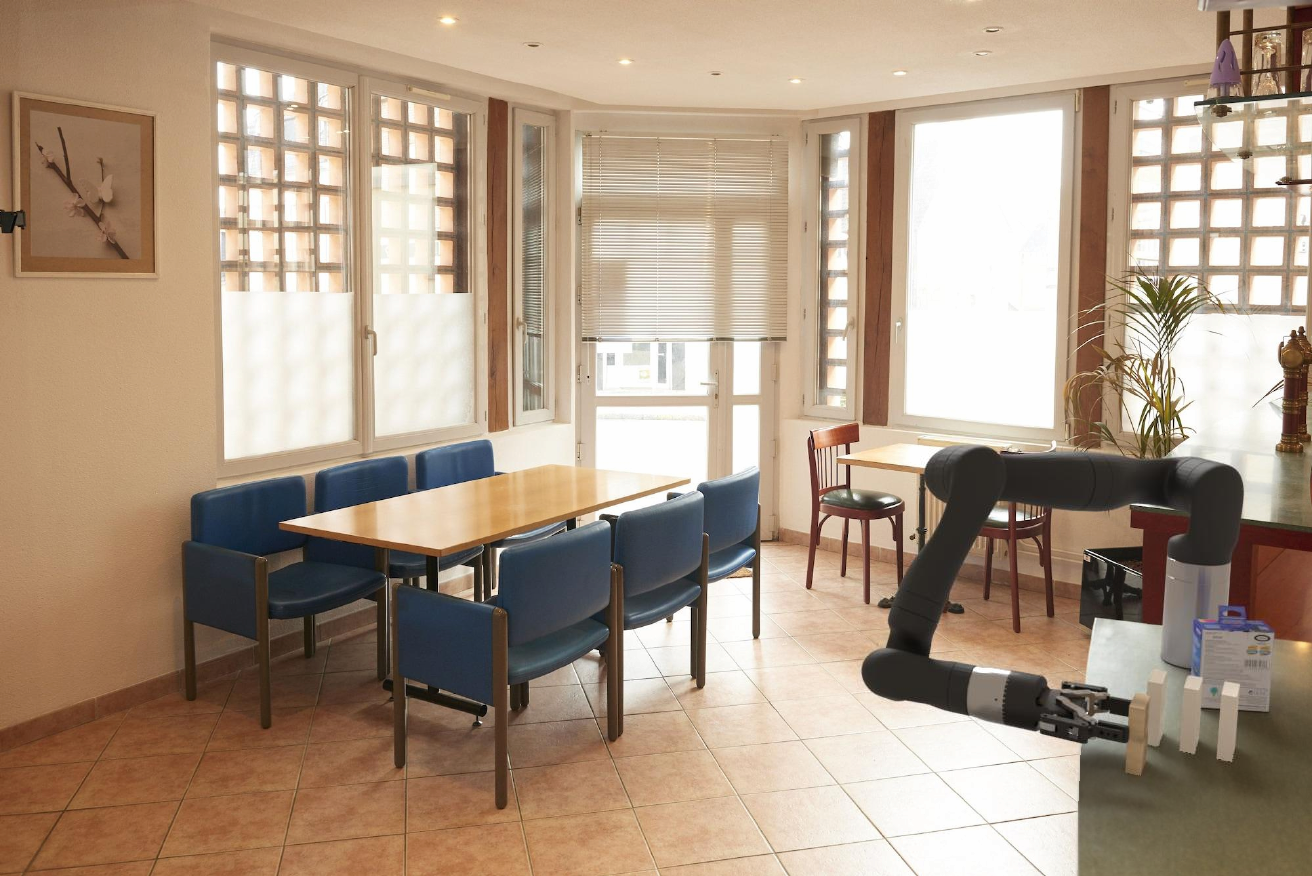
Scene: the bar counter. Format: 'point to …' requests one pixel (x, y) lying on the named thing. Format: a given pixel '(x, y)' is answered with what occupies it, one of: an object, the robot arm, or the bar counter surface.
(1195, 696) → the ivory domino
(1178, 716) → the bar counter surface
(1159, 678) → the ivory domino
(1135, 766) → the oak domino
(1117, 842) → the bar counter surface
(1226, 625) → the ink cartridge box
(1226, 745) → the ivory domino
